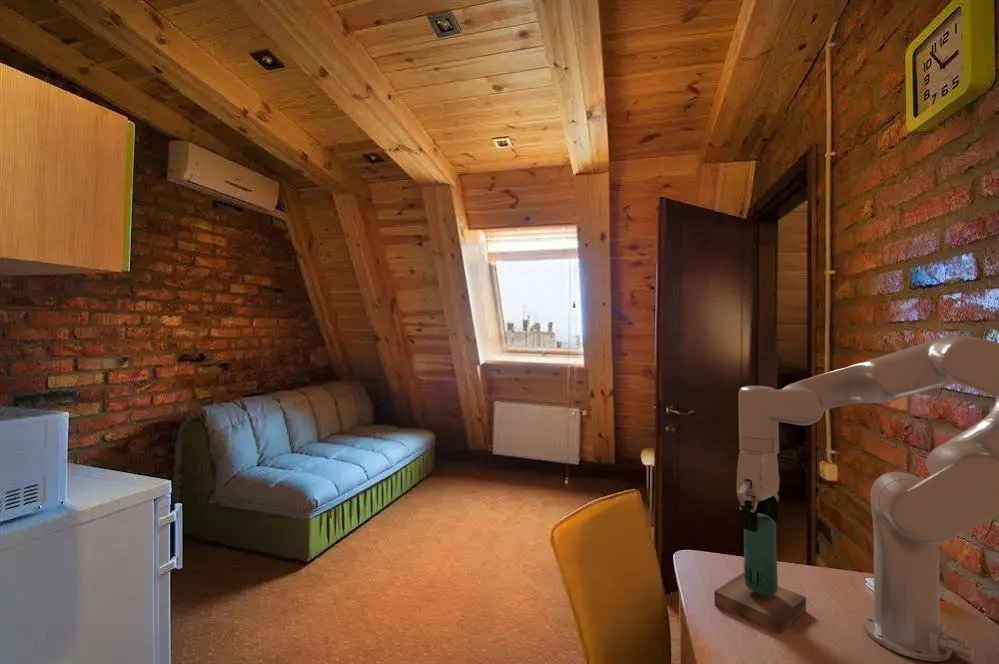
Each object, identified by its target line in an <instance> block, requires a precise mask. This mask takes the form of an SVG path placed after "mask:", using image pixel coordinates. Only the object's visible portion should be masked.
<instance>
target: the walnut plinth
mask: <svg viewBox="0 0 999 664" xmlns="http://www.w3.org/2000/svg"><path fill="white" fill-rule="evenodd" d="M744 577H745V572H742V573H740V574H739V575H737V576H736V577H734V578H732V579H731V580H730V581H728V582H727V583H725V584H723V585H722V586H720V587H719V588H717V589H716V590H714V606H716V607H718V608H720V609H722V610H724V611H726V612H729V613H731V614H734V615H735V616H737V617H740V618H742V619H744V620H746V621H748V622H750V623H752V624H754V625H757V626H759V627H761V628H763V629H765V630H767V631H770V632H771V633H773V634H776V635H778V636H781V634H782V633H784V631H785V630H787V629H788V628H789V627H790V626H791V625H792V624H793V623H794V622H795V621H797V620H798V619H799V618H800V617H801V616H802V615H803V614H805V613H806V611H807V597H806V596H804V595H801V594H799V593H797V592H794V591H791V590H790V589H786V588H784V587H782V586H779V585H777V592H776V593H774V594H761V593H757V592H754V591H752V590H750V589H749V588H748V587H747V586H746V584H745V582H744V581H745V580H744V579H745V578H744Z"/></svg>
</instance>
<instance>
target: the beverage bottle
mask: <svg viewBox="0 0 999 664" xmlns="http://www.w3.org/2000/svg"><path fill="white" fill-rule="evenodd" d="M748 501H749V503H750V504H751V505H752V502H753V501H750V500H748ZM755 512H757V513H758V531H757V532H753V531H749V530H746V529H743V534H742V539H743V548H742V549H743V560H744V561H743V571H744V573H745V577H744V578H745V579H744V580H745V581H744V582H745V584H746V586H747V587H748V588H749V589H750V590H752V591H754V592H757V593H761V594H774V593H776V592H777V586H779V584H778V583H779V579H778V577H779V575H778V560H777V559H778V557H777V523H776V522H775V520H772V519H771V518H770V517H769V516H767V515H764V514H768V513H770V504H769V502H768V501H766V500H763V501H760V502H758V504H757V508H756V511H755Z"/></svg>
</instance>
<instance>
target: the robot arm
mask: <svg viewBox="0 0 999 664" xmlns="http://www.w3.org/2000/svg"><path fill="white" fill-rule="evenodd" d="M956 384H958V385H961V386H965V387H968V388H971V389H975V390H977V391H980V392H984V393H985V394H986V393H987V394H989V395H993V396H995V402H994V405H993V408H992V409H991V410H990V412H989V413H988V414H987V415H986V416H985V417H983V418H982V419H980V420H979V421H978V422H977V423H975V424H974V425H972V426H970V427H969V428H967V429H965V430H964V431H963V432H960V433H959V434H957V435H956V436H954V437H952V438H950V439H949V440H948V441H946V442H944V443H942V444H940V445H938V446H936V447H934V449H933V450H932V451H930V452H929V454H928V455H927V457H926V462H925V464H926V466H925V467H926V470H927V472H928V473H929V476H927V477H926V478H924V479H921V478H920V477H918V476H916V475H914V474H911V473H906V472H904V471H903V472H902V471H891V472H886V473H884V474H882V475H880V476H879V477H878V478H876V480H875V481H874V482H873V484H872V486H871V487H870V488H871V489H870V506H871V507H870V508H871V517H872V524H873V526H872V527H873V529H872V530H873V583H874V584H873V587H874V588H873V593H874V594H873V596H874V597H873V601H874V603H873V605H874V613H873V614H874V615H870V616H867V617H866V618H865V620H864V630H865V631H866V633H867V634H868V636H870V638H871V639H873V640H874V641H875V642H877V643H878V644H880V645H881V646H883V647H885V648H887V649H889V650H890V651H893V652H895V653H896V654H897V653H898V654H899V655H902V656H905V657H909V658H912V659H916V660H921V661H926V662H935V663H937V662H944V661H947V660H949V659H950V658H951V657H952V654H953V653H952V652H954V653H957V654H958V655H960V656H963V657H965V658H967V659H969V660H973V659H974V647H972V646H970V645H967V644H968V643H967V639H964V638H961V637H958V636H955V635H952V634H950V633H949V632H948V631H946V623H944V622H942V621H941V618H940V617H941V616H940V615H941V608H940V607H941V606H940V604H941V603H940V602H941V601H940V597H941V596H940V565H941V564H940V546H939V545H940V544H941V543H945V542H947V541H951V540H952V539H955V538H957V537H958V536H960V535H962V534H964V533H966V532H968V531H970V530H972V529H973V528H975V527H978V526H980V525H982V524H983V523H985V522H987V521H988V520H990V519H992V518H994V517H996V516H998V515H999V342H996V341H992V340H988V339H986V338H985V339H984V338H982V337H981V338H980V337H975V336H960V335H959V336H957V335H956V336H944V337H940V338H936V339H933V340H929V341H927V342H922V343H920V344H916V345H913V346H910V347H907V348H905V349H904V348H903V349H902V350H898V351H896V352H895V351H894V352H891V353H889V354H884V355H883V356H879V357H876V358H872V359H870V360H869V359H868V360H866V361H861V362H858V363H855V364H852V365H849V366H847V367H844V368H840V369H835V370H833V371H828V372H825V373H821V374H817V375H814V376H811V377H809V378H804V379H801V380H798V381H796V382H793V383H790V384H787V385H786V386H784V387H783V388H781V389H775V388H774V387H771V386H768V385H767V386H765V385H745V386H742V387H740V388H739V391H738V395H737V396H738V399H737V400H738V444H739V445H738V446H739V447H738V449H739V454H738V459H737V467H736V496H737V499H738V501H737V503H738V505H739V511H740V528H742V529H743V530H744V529H746V530H749V531H753V532H757V531H758V513H757V512H755V511H756V508H757V504H758V502H760V501H763V500H766V501H768V502H769V504H770V513H768V514H764V515H767V516H769V517H770V518H771V519H772V520H773V521H778V520H779V500H780V496H779V492H780V480H781V478H780V473H779V472H780V471H779V461H778V459H779V458H778V454H780V438H779V437H780V436H779V435H780V433H779V432H780V431H779V430H780V429H779V428H780V427H779V423H780V422H781V423H786V424H792V425H798V426H809V425H812V424H815V423H817V422H818V421H820V420H821V419H822V417H823V416H824V413H825V411H827V410H830V409H834V408H837V407H842V406H847V405H855V404H881V403H889V402H894V401H898V400H902V399H904V398H908V397H910V396H914V395H917V394H918V395H919V394H921V393H925V392H929V391H932V390H937V389H940V388H944V387H947V386H951V385H956ZM749 500H750V501H753V502H752V505H751V504H750V503H749Z"/></svg>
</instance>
